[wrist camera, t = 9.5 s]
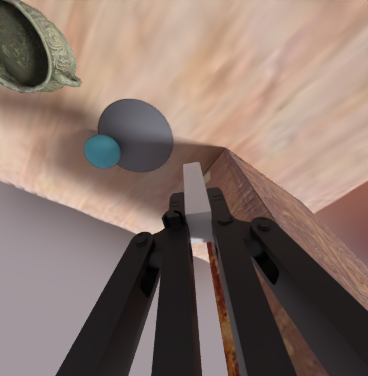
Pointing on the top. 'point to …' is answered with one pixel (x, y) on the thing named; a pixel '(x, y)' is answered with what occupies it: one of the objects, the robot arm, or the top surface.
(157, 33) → the top surface
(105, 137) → the ball
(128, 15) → the top surface
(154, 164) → the disc
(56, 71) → the vessel
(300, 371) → the book
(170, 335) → the robot arm
